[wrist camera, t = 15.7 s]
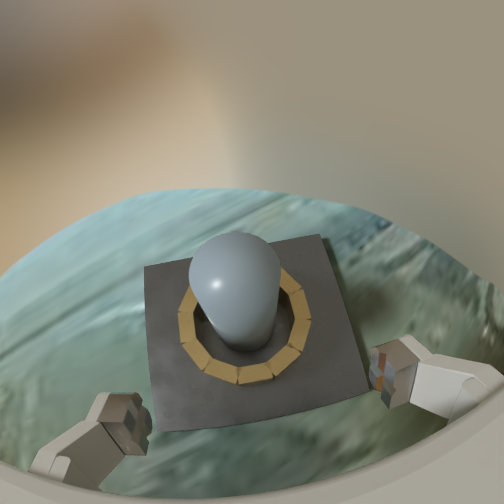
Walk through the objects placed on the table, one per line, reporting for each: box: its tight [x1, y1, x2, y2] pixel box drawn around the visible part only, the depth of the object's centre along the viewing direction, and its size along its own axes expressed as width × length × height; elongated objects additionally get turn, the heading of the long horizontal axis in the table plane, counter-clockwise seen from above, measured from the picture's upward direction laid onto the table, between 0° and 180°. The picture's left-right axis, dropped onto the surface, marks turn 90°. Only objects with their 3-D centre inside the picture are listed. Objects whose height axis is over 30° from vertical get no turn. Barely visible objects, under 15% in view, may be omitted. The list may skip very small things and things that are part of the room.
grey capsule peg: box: [189, 232, 281, 352], centre depth 20 cm, size 5×5×10 cm
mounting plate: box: [144, 234, 370, 432], centre depth 24 cm, size 18×16×1 cm
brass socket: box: [178, 268, 311, 387], centre depth 22 cm, size 10×10×4 cm
